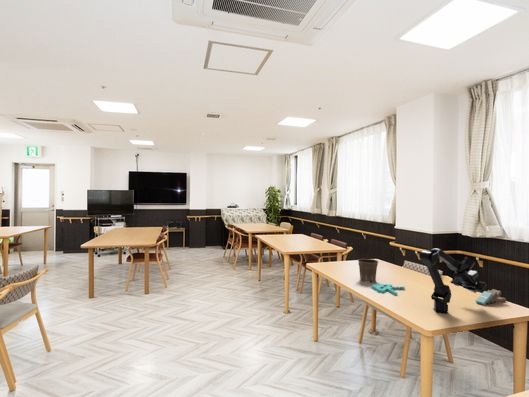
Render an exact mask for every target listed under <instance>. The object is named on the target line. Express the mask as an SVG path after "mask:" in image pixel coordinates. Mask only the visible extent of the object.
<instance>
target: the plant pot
mask: <svg viewBox="0 0 529 397" xmlns="http://www.w3.org/2000/svg"><path fill="white" fill-rule="evenodd" d="M357 262H358V266H359V267H358V268H359V280H360V279H361V280H360V281H362V280H363V281H362V282H365V281H372V282H373V281H374V282H376V279H377V271H378V270H377V269H378V263H379V260H376V259H371V258H360V259H357Z"/></svg>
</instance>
